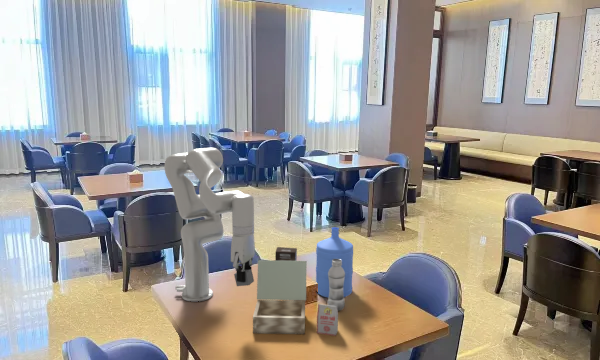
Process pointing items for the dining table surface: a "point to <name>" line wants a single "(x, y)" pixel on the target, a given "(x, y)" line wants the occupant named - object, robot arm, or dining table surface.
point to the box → (279, 317)
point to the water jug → (325, 255)
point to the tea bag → (327, 319)
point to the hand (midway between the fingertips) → (244, 278)
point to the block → (248, 278)
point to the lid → (281, 280)
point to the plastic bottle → (336, 284)
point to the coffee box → (286, 254)
